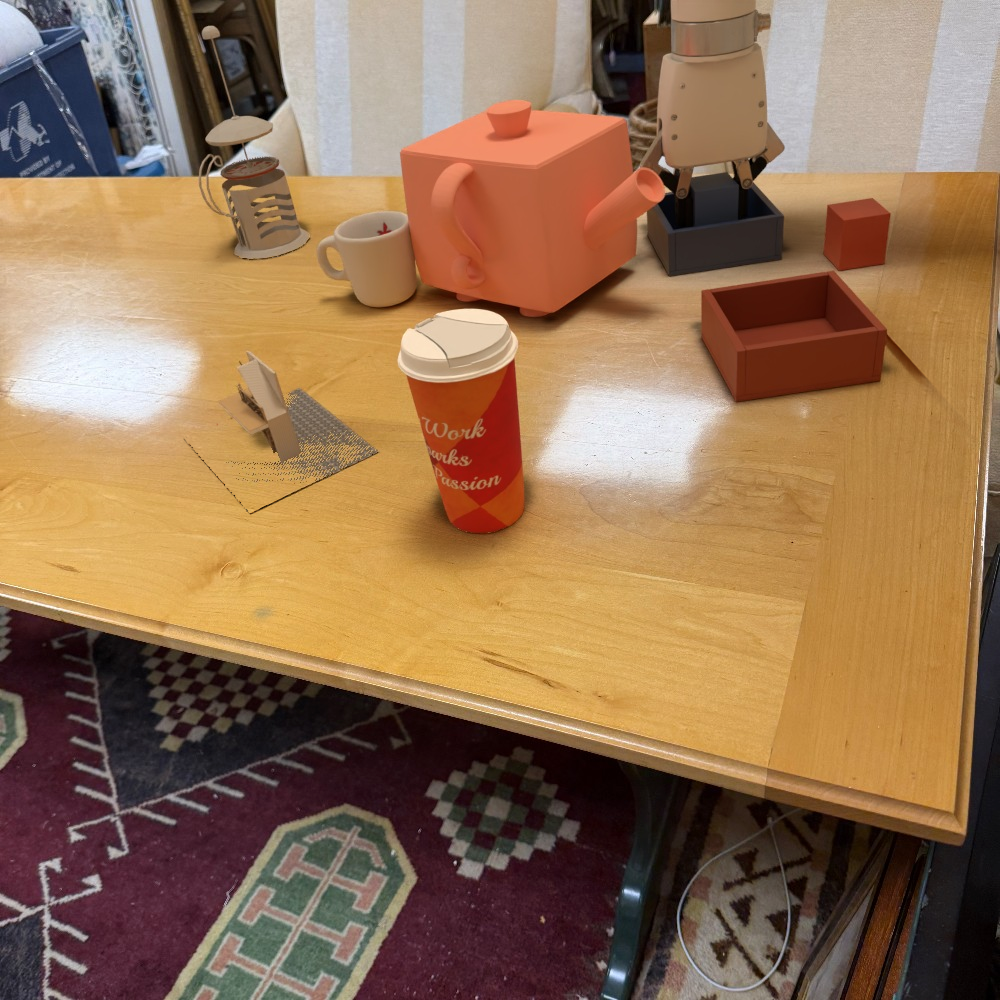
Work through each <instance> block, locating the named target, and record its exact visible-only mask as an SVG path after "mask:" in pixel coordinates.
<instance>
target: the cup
mask: <svg viewBox="0 0 1000 1000" xmlns="http://www.w3.org/2000/svg"><path fill="white" fill-rule="evenodd" d="M316 247H317V248H316V258H317V261H318V264H319V266H320V268H321V270H322V272H323V273H324V274H325V276H326V277H327V278H330V279H331V280H333V281H341V282H342V281H344V282H349V283H350V285H351V288H352V290H353V293H354V295H355V297H356V298H357V300H358V301H359V302H360V303H361V304H363V305H365V306H367V307H371V308H386V307H391V306H395V305H398V304H402V303H403V302H405V301H407V300H409V299H410V298H411V297H412V296H413V295H414V294H415V292H416V289H417V284H418V278H417V264H416V261H415V257H414V251H413V246H412V240H411V234H410V228H409V222H408V215H407V213H405V212H402V211H397V210H379V211H373V212H372V211H371V212H367V213H363V214H359V215H356V216H353V217H351V218H348V219H347V220H344V221H342V222H341V223H339V225H337V226H336V228H334V231H333V234H332V235H329V236H326V237H324V238H323V239H322V240H321V241H320V242H319V243H318V245H317V246H316ZM328 248H332V249H334V250H335V251H336V252H337V253H338V255H339V256H340V258H341V262H342V267H343V269H342V270H338V269H336V268H334V267H333V265H332V264H331V262H330V261H329V258H328V254H327V249H328Z"/></svg>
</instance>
